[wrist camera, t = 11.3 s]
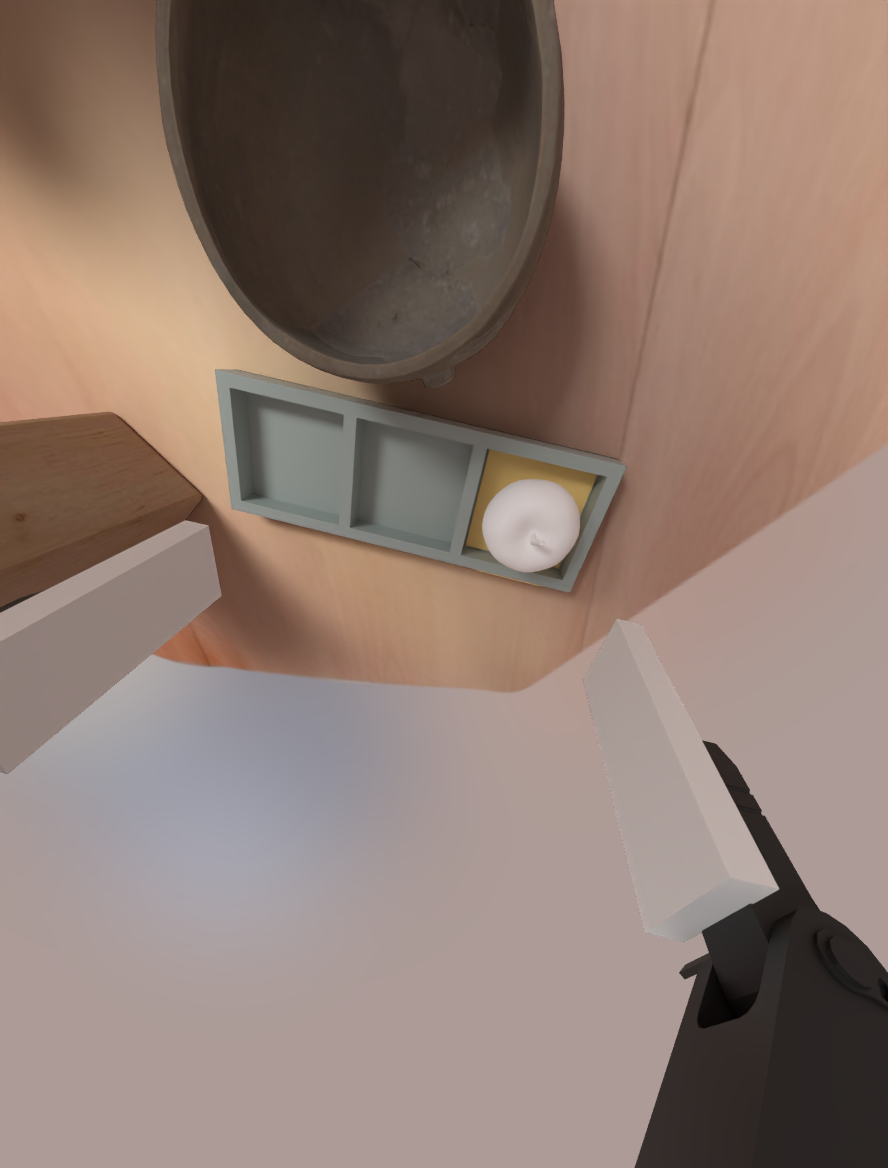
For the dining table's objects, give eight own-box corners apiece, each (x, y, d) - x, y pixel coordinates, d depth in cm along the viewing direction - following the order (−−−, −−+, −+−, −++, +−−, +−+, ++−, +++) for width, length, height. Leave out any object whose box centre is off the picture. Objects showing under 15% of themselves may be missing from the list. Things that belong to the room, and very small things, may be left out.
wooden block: (206, 495, 35) (-76, 610, 18) (163, 551, 40) (-98, 686, 23) (113, 408, 32) (-327, 448, 15) (77, 478, 37) (-298, 570, 20)
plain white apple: (589, 515, 30) (613, 558, 23) (518, 563, 33) (520, 612, 26) (539, 447, 28) (549, 472, 21) (468, 504, 31) (457, 541, 24)
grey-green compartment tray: (237, 369, 29) (215, 369, 27) (617, 458, 28) (626, 466, 26) (249, 502, 35) (231, 510, 33) (564, 580, 34) (568, 594, 32)
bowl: (504, 403, 28) (502, 417, 19) (280, 354, 28) (181, 346, 20) (595, 33, 19) (668, -255, 10) (263, -26, 19) (67, -344, 11)
